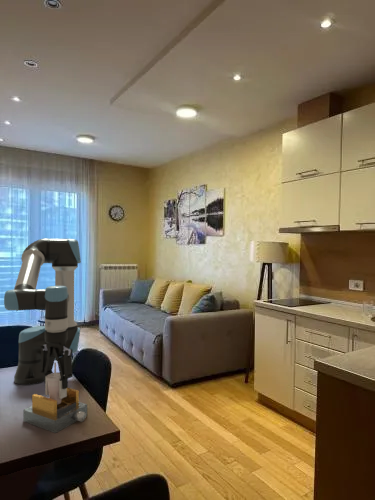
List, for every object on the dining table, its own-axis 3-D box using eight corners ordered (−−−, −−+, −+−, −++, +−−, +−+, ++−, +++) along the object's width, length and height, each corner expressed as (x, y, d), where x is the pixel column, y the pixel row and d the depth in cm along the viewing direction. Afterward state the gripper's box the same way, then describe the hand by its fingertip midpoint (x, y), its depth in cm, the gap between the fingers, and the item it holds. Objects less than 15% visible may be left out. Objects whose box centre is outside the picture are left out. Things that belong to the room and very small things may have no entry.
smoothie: (59, 397, 129) (59, 359, 129) (68, 402, 125) (69, 362, 125) (42, 403, 124) (42, 363, 124) (52, 408, 120) (52, 367, 120)
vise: (23, 421, 122) (23, 395, 122) (56, 405, 134) (56, 382, 134) (61, 435, 113) (62, 407, 113) (93, 417, 125) (93, 392, 125)
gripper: (29, 329, 126) (28, 393, 126) (67, 335, 116) (66, 405, 116) (46, 325, 132) (46, 386, 132) (84, 331, 123) (83, 397, 123)
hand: (55, 395), depth 124 cm, fingers closed on smoothie, 6 cm apart
